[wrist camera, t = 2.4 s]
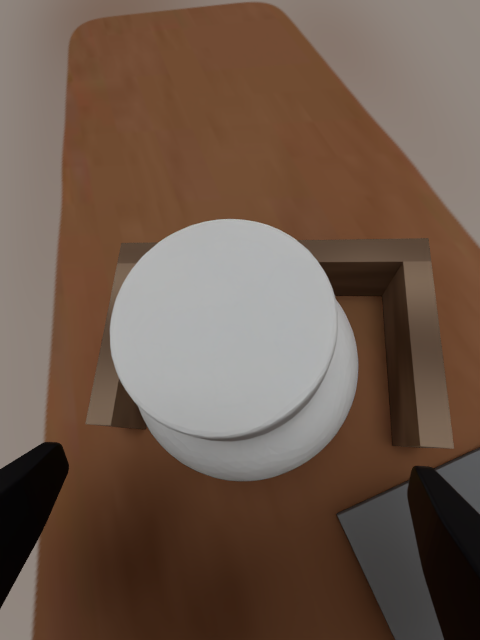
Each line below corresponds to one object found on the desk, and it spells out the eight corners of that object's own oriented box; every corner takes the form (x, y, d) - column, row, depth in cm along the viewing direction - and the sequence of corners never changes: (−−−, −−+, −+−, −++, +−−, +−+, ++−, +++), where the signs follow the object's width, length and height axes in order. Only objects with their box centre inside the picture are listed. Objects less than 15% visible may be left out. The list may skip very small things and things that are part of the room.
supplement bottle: (347, 442, 18) (466, 439, 6) (222, 481, 18) (81, 557, 6) (302, 323, 20) (318, 143, 8) (191, 358, 20) (47, 234, 8)
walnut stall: (418, 447, 17) (453, 448, 13) (124, 427, 19) (85, 424, 16) (402, 276, 20) (428, 238, 16) (149, 276, 22) (121, 243, 19)
